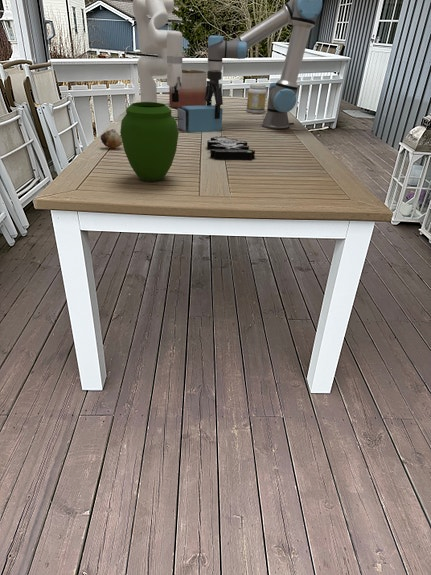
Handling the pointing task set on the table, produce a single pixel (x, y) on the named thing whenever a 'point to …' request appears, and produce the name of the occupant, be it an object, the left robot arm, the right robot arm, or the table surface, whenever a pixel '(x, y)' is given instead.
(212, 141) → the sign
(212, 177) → the table surface
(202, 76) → the planter
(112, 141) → the seashell
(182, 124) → the drawer
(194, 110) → the blue storage bin
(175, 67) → the left robot arm
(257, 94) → the supplement tub
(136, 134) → the vase
